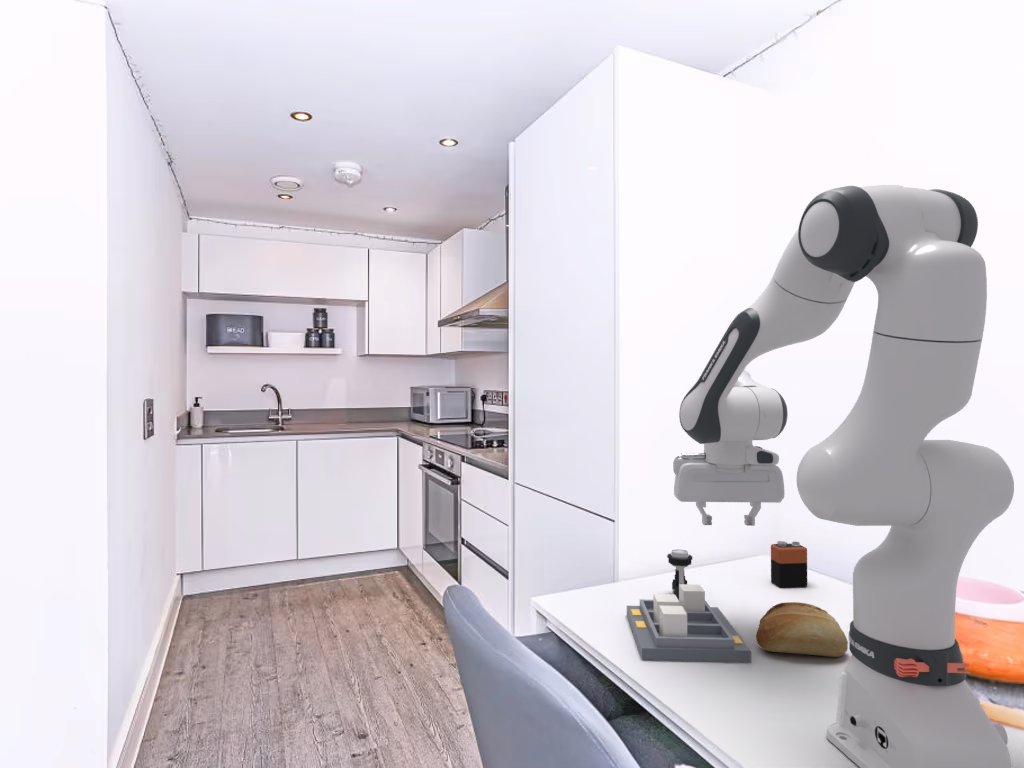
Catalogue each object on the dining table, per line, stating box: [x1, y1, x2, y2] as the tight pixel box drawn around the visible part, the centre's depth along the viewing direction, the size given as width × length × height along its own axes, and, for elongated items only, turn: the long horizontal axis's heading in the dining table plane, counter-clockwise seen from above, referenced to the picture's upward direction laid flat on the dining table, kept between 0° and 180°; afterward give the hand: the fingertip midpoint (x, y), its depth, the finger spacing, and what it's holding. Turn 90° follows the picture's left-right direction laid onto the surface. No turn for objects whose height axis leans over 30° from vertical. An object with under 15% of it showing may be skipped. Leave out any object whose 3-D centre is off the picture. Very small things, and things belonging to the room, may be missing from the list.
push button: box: [666, 548, 693, 600], centre depth 133 cm, size 7×5×10 cm
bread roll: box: [755, 601, 849, 658], centre depth 105 cm, size 10×15×8 cm, turn 86°
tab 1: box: [652, 593, 680, 623], centre depth 111 cm, size 4×4×5 cm
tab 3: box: [679, 583, 706, 612], centre depth 117 cm, size 4×4×5 cm
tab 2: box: [659, 606, 687, 637], centre depth 105 cm, size 4×4×5 cm
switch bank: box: [626, 598, 752, 664], centre depth 111 cm, size 20×18×4 cm
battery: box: [770, 540, 808, 589], centre depth 140 cm, size 4×7×10 cm, turn 96°
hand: (728, 524), depth 117 cm, fingers open, 7 cm apart
